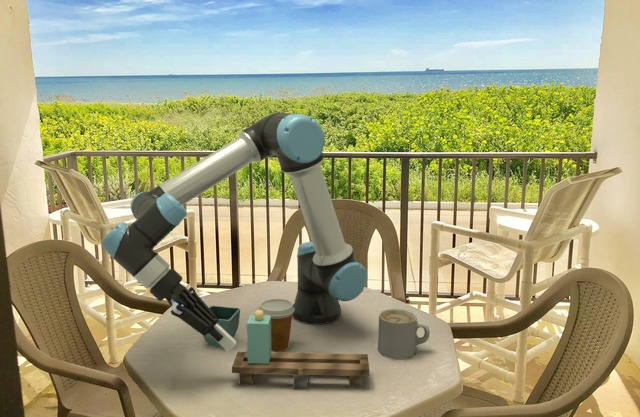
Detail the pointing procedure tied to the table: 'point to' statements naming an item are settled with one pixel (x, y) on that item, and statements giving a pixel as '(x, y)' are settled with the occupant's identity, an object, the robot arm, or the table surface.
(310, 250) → the robot arm
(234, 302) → the table surface
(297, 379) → the brown flat slatted piece
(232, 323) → the flower pot
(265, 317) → the block
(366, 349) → the table surface
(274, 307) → the disposable coffee cup
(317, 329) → the table surface
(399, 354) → the coffee mug
